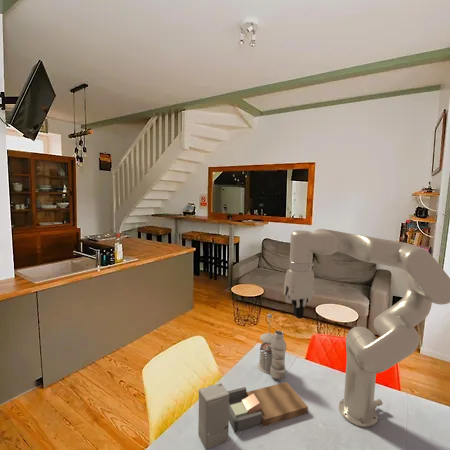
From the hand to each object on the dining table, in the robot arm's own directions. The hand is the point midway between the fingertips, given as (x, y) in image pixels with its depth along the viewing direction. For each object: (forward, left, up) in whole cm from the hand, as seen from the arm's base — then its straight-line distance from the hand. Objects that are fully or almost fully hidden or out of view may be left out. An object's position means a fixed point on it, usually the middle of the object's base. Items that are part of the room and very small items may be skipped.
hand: (298, 316), depth 100 cm
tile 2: (+16, -3, -33) cm, 37 cm away
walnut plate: (+6, -3, -35) cm, 36 cm away
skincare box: (+32, +2, -35) cm, 48 cm away
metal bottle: (-3, -17, -35) cm, 39 cm away
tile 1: (+21, -3, -34) cm, 41 cm away
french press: (-2, -24, -35) cm, 43 cm away
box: (+20, -4, -35) cm, 41 cm away
